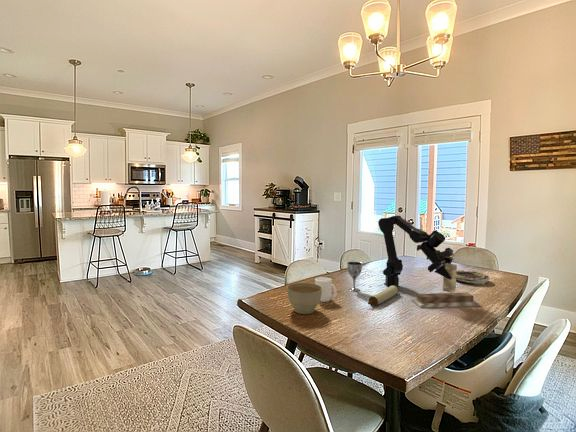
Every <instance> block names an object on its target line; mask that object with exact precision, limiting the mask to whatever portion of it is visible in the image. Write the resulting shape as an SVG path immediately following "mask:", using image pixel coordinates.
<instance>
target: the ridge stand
mask: <svg viewBox="0 0 576 432" xmlns="http://www.w3.org/2000/svg"><path fill="white" fill-rule="evenodd" d="M416 295H417V296H416V298H411V300H410V301H411V302H412V303H413V304H415V305H416V306H417V307H419V308H441V307H442V308H443V307H444V308H445V307H446V308H447V307H468V306H469V307H470V306H471V307H473V306H481V305H480V302H479V301H477V300H474V295H472V294H471V293H469V292H453V293H450V292H439V293H417V294H416Z"/></svg>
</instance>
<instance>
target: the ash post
mask: <svg viewBox="0 0 576 432" xmlns="http://www.w3.org/2000/svg"><path fill="white" fill-rule="evenodd" d="M457 267H458V265H457V264H455V263H451V264H449V263H447V264H445V269H446V270H447V272H448V273H449V275H450V276H451V278H452V279H451V280H449V279H448V278H446V277H444V276H442V277H443V279H442V292H445V293H456V291H457V290H456V288H457V287H456V286H457V281H456V272H457V271H458V268H457Z"/></svg>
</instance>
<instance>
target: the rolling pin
mask: <svg viewBox="0 0 576 432" xmlns="http://www.w3.org/2000/svg"><path fill="white" fill-rule="evenodd" d="M399 293H400V287H397V286H395V285H393V286H390V287H388V286H387V288H385V289H383V290H382V291H379V292H378V293H376V294H373V295H370V296H369V297H368V302H367V305H370V306H371V307H374V308H375V307H377V306H378V305H380V304H382V303H384V302H386V301H387V300H389V299H391V298H392V297H394V296H395V295H398V294H399Z"/></svg>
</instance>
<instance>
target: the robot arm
mask: <svg viewBox="0 0 576 432" xmlns="http://www.w3.org/2000/svg"><path fill="white" fill-rule="evenodd" d="M377 222H378V223H377V224H378V227H379V230H380V231H381V232H382V234H383V238H384V239H383V240H384V242H385V248H386V249H385V250H386V253H387V254H386V255H387V261H386V268H384V269H383V270H382V273H383V276H385V282H384V283H383V284H384V285H385V286H387V288H388V287H390V286H393V285H395V286H397V287H398V288H400V285H399V282H400V278H399V276H401V273H402V271H403V269H404V268H403V267H404V265H403V260H402V259H399V258H398V256H397V255H398V254H397V250H396V245H395V240H394V235H393V231H394V230H395V225H396V226H398V228H400V229H401V230H403V232H405V233H406V234H407V235H408V236H409V238H410V240H411V241H412V242H413V243H415V244H417V245H416V251H417V252H418V251H420V250H421V251H422V253H423V254H424V255H425V257H426V260H427V261H428V260H429V261H430V262H431V264H429V265H428V266H427V270H428V272H429V273H432V272H434V273H436V274H438V275H440V276H441V277H446V278H448V279H449V280H451V279H452V278H451V276H450V275H449V273H448V272H447V270H446V269H445V264H447V263H449V264H453V263H452V261H453V260H454V259H453V257H452V256H454V250H453V249H452V248H451V247H446V248H444V251H440V249H438V250H437V249H436V248H437V247H439V246H441V244H442V243H444V242H445V241H446V237H445V235H444V234H442V233H441V232H440V231H438V229H437V230H433V231H432V232H431V233H430V234H428V233H427V232H426V231H425V230H423V229H420V228H417V227H414V225H412V224H411V223H409V222H408V221H407V220H405V219H404V218H403V217H402V216H401V215H392V216H389V217H383V218H382V217H381V218H379V220H378V221H377ZM419 243H420V244H419Z"/></svg>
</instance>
